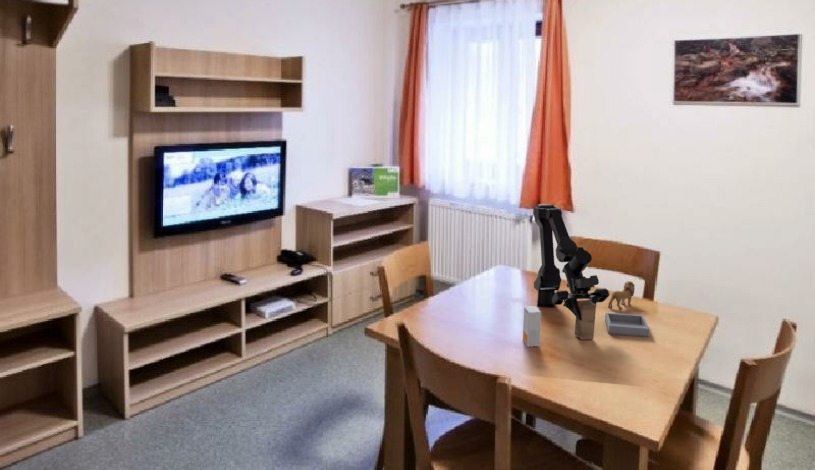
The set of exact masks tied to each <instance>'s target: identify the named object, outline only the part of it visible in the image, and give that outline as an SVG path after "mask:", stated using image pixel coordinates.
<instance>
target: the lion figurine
mask: <svg viewBox="0 0 815 470" xmlns="http://www.w3.org/2000/svg"><path fill="white" fill-rule="evenodd" d="M635 289H636V286H635V284H634V282H633V281H631V280H627V281H625V283H624V284H623V290H615V291H613V292H612V293H611V297H610V300H609V302H608V306H607V308H608V309H610V310H612V309H613V302H614V301H616V307H617V308H618V309H620V310H622V309H623V307H622V306H620V304H621V305H625V302H626V301H625V300H627V306H630V307H631V306H632V304H631V301H632V297H633V296H634V294H635Z"/></svg>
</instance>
